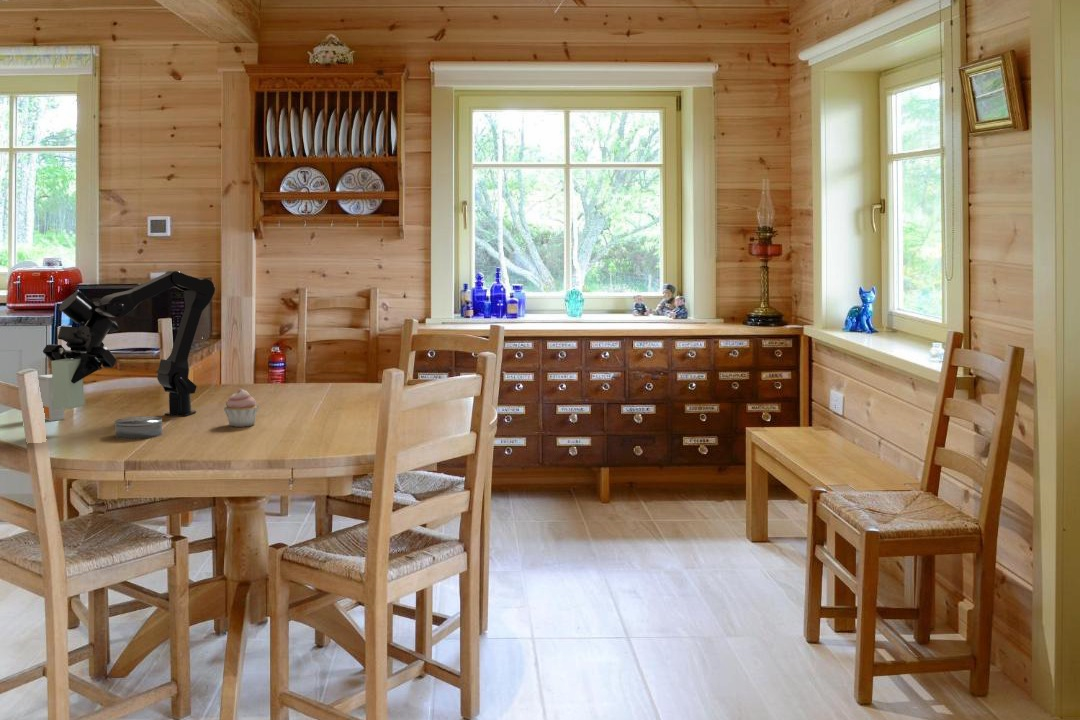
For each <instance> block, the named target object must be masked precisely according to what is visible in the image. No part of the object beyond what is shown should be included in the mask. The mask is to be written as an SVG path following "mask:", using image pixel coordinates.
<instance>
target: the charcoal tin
mask: <svg viewBox="0 0 1080 720" xmlns="http://www.w3.org/2000/svg"><path fill="white" fill-rule="evenodd" d="M114 426H115V427H114V429H115V438H117V439H120V440H145V439H151V438H152V437H153V438H157V437H160V436H162V435H163V418H162V417H159V416H149V415H147V416H145V415H143V416H139V415H138V416H129V417H121V418H119V419H118V418H117V419H115V420H114Z"/></svg>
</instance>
